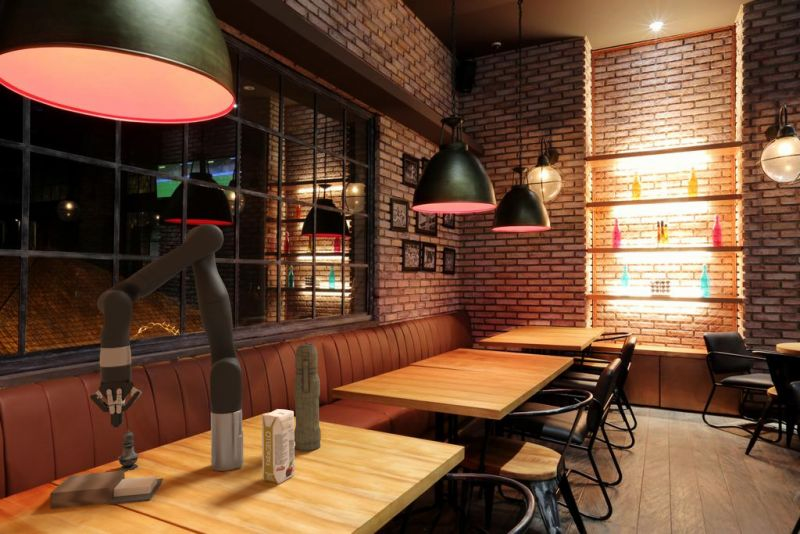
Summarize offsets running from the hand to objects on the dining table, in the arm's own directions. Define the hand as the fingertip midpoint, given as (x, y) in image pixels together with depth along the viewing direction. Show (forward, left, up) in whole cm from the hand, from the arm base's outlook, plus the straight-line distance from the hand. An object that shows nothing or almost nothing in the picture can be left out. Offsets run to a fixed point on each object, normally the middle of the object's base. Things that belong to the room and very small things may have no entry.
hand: (117, 426), depth 141 cm
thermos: (-52, -25, -19) cm, 61 cm away
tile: (-4, 0, -18) cm, 18 cm away
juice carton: (-43, 0, -19) cm, 47 cm away
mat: (-5, 0, -18) cm, 19 cm away
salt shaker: (+3, -20, -19) cm, 28 cm away
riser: (+7, 0, -18) cm, 20 cm away
